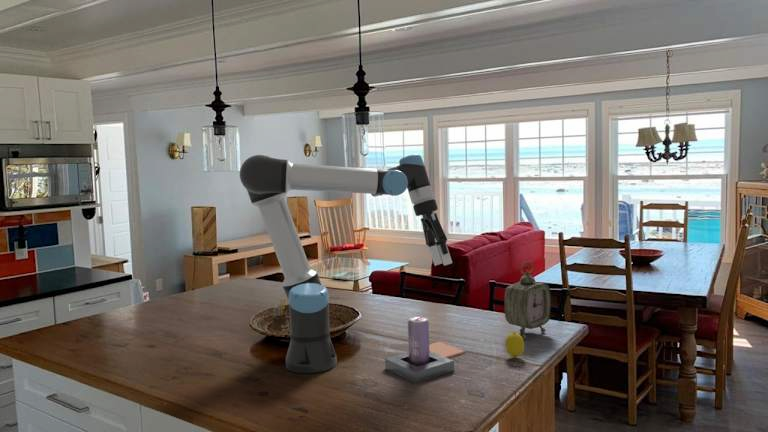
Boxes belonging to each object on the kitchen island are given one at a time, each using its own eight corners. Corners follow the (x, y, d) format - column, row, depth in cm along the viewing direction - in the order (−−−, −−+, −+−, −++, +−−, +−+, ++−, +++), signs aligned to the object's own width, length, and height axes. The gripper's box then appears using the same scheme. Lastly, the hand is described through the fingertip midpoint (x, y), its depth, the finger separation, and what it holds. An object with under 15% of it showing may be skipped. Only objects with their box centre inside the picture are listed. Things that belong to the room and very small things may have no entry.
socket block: (415, 383, 149) (415, 372, 149) (385, 368, 161) (385, 358, 161) (454, 370, 158) (453, 360, 157) (422, 357, 169) (422, 348, 169)
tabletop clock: (524, 342, 181) (524, 266, 179) (502, 336, 188) (502, 263, 186) (550, 332, 190) (550, 260, 188) (528, 327, 197) (528, 257, 195)
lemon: (511, 362, 163) (510, 335, 162) (502, 356, 168) (501, 330, 168) (527, 360, 165) (527, 333, 164) (518, 354, 170) (518, 328, 169)
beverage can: (433, 368, 160) (432, 317, 159) (423, 375, 155) (422, 322, 154) (415, 364, 163) (414, 314, 162) (405, 371, 158) (403, 319, 157)
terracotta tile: (435, 361, 165) (435, 359, 165) (410, 351, 175) (410, 349, 175) (465, 352, 172) (465, 350, 172) (439, 343, 182) (439, 341, 182)
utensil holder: (269, 337, 194) (267, 304, 193) (276, 332, 200) (275, 299, 199) (284, 338, 192) (283, 304, 191) (292, 333, 198) (290, 300, 197)
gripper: (443, 193, 168) (464, 260, 167) (426, 202, 193) (445, 261, 191) (419, 200, 167) (440, 268, 166) (406, 208, 191) (424, 267, 190)
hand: (443, 264), depth 179 cm, fingers open, 13 cm apart
